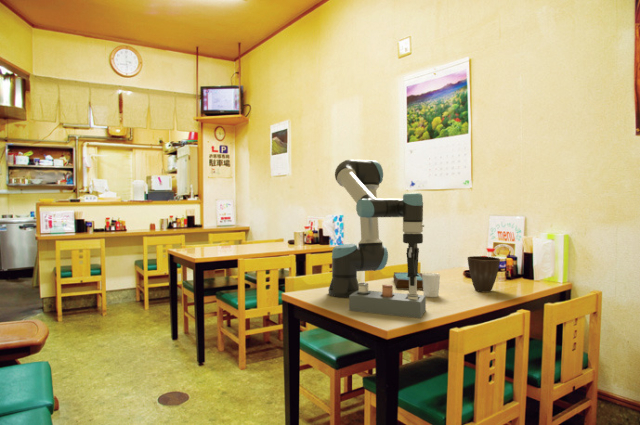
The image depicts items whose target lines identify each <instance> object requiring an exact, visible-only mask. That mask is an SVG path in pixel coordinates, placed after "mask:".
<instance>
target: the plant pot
mask: <svg viewBox="0 0 640 425" xmlns="http://www.w3.org/2000/svg"><path fill="white" fill-rule="evenodd" d="M500 263H501V258H499V257H494V256H481V255H480V256H478V255H476V256H474V255H473V256H467V265H468V270H469V275H470V278H471V283H472V285H473V288H474V291H477V292H482V293H489V292H492V290H493V288H494V285H495V283H496V280H497V277H498V273H499V270H500Z"/></svg>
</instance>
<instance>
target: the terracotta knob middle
mask: <svg viewBox="0 0 640 425" xmlns="http://www.w3.org/2000/svg"><path fill="white" fill-rule="evenodd" d="M393 288H394V286H393V285H392V284H382V289H381V292H382V297H393V293H394V292H393Z"/></svg>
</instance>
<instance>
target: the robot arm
mask: <svg viewBox="0 0 640 425" xmlns="http://www.w3.org/2000/svg"><path fill="white" fill-rule="evenodd" d="M334 178H335V181H336V182H337V183H338V185H339V186H340V187H343V188H344V189H345V190H346V192H347V193H348V194H349V196H350V197H351V198H352V199H353V201H354V202H355V203H356V205H355V210H356V214H357V216H358V217H359V220H360V222H359V223H360V224H359V225H360V240H359V242H358V246H357V244H356V243H347V244H346V243H345V244H340V245H336V246H334V247H333V248H332V249H331V250H332V252H331V254H332V255H331V269H332V270H331V271H332V272H331V280H330V283H329V287H328V296H331V297H335V298H349V295H351V294H353V293H354V292H356V291H358V290H359V283H360V282H359V281H358V276H357V275H358V272H368V271H370V272H373V271H374V272H376V271H381V270H383V269H385V267H386V265H387V263H388V259H389V253H388V249H387V247H386V246H385V245H384V244H383V241H382V240H381V239H380V235H379V233H380V232H379V218H402V233H403V234H402V242H403V243H404V244H407V245H408V246H407V248H406V254H405V255H406V262H407V263H406V264H407V273H408V275H407V277H409V289H408V293H409V294H418V289H417V277H416V276H418V277H419V275H417V274H418V273H419V253H420V250H419V249H420V248H419V247H418V244H419V245H420V244H423V242H424V241H423V240H424V234H423V231H424V230H423V228H425V224H424V223H423V220H424V200H423V194H422V193H419V192H411V193H410V192H406V193H404V194H403V195H402V198H378V197H377V196H378V195H377V190H378V189H379V187H380V184H382V182H383V179H384V169H383V167H382V164H380V162H379V161H377V160H373V159H372V160H371V159H346V160H343V161H342V162H340V163H339V164H338V165H337V166H336V168H335V171H334Z"/></svg>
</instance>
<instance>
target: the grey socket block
mask: <svg viewBox="0 0 640 425" xmlns="http://www.w3.org/2000/svg"><path fill="white" fill-rule="evenodd" d="M407 294H408V293H401V292H400V293H399V292H393V297H382V291H379V290H377V291H376V290H368V295H360V294H359V290H358V291H356V292H354V293H353V294H351V295H349V297H348V298H349V299H348V300H349V302H348V308H349V309H348V310H351V312H359V313H370V314H377V313H378V314H379V315H386V314H387V315H388V316H395V315H396V317H404V316H407V317H408V318H415V319H421V318H422V317H423V315H424V314H425V312H426V309H427V308H426V307H427V305H426V304H427V302H426V301H427V297H426V296H425V295H424V294H418V300H415V299H407ZM378 314H377V315H378ZM407 317H406V318H407Z"/></svg>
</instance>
